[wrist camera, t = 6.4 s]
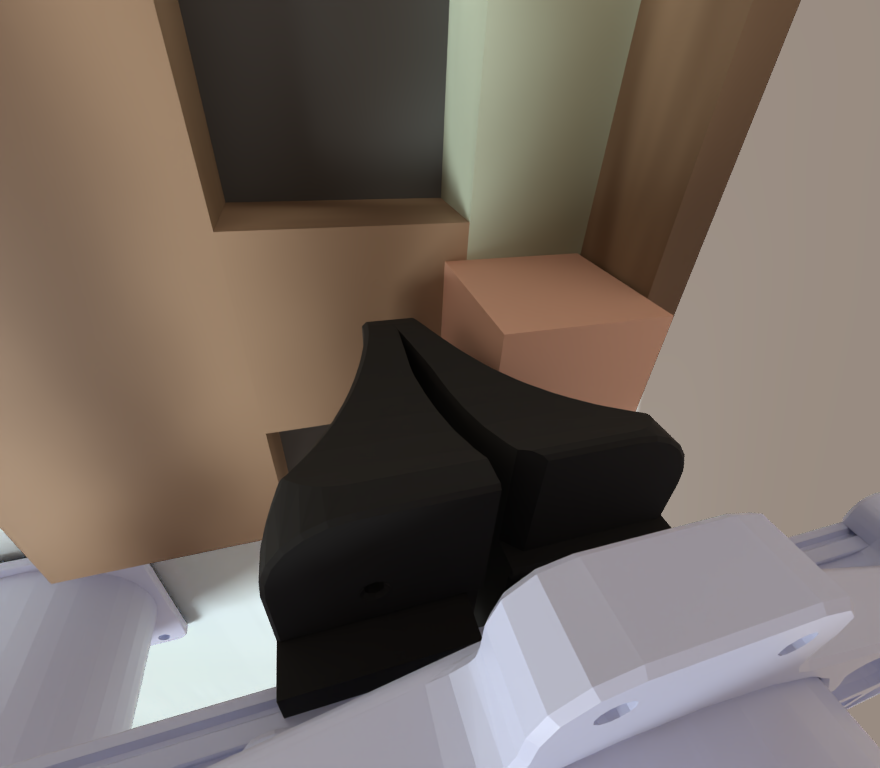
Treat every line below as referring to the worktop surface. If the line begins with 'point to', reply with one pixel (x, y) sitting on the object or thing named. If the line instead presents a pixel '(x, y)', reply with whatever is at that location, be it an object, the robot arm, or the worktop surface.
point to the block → (555, 325)
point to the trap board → (309, 219)
